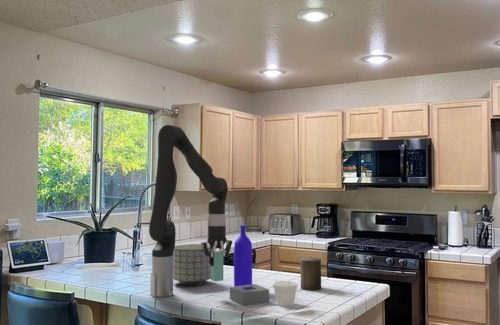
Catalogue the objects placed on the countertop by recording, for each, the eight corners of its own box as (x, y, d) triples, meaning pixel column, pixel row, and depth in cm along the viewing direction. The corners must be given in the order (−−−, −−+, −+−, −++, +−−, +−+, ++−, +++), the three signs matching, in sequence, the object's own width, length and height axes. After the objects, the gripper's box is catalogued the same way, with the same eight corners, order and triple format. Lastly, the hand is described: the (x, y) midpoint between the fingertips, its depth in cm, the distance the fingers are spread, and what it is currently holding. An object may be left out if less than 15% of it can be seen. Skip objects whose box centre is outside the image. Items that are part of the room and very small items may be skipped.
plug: (214, 281, 198) (214, 252, 198) (210, 279, 201) (210, 251, 202) (223, 280, 199) (223, 251, 200) (219, 278, 203) (219, 250, 204)
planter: (191, 278, 246) (191, 243, 247) (219, 282, 235) (219, 245, 236) (164, 284, 231) (164, 247, 232) (194, 289, 220) (194, 250, 221)
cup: (269, 308, 187) (269, 284, 187) (277, 302, 196) (277, 279, 197) (294, 311, 184) (293, 286, 184) (300, 304, 193) (300, 281, 193)
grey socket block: (242, 308, 188) (242, 292, 188) (229, 301, 198) (229, 287, 199) (269, 304, 193) (269, 289, 194) (254, 298, 204) (254, 284, 204)
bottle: (234, 289, 220) (234, 224, 221) (252, 289, 220) (252, 224, 221) (233, 293, 212) (233, 226, 213) (252, 293, 212) (251, 226, 213)
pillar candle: (324, 290, 218) (323, 257, 219) (303, 291, 217) (303, 257, 218) (317, 285, 228) (317, 254, 229) (297, 286, 226) (297, 254, 227)
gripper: (204, 226, 195) (204, 268, 194) (235, 224, 201) (236, 265, 201) (197, 224, 201) (198, 265, 201) (228, 223, 208) (228, 262, 207)
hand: (217, 265), depth 201 cm, fingers closed on plug, 4 cm apart
